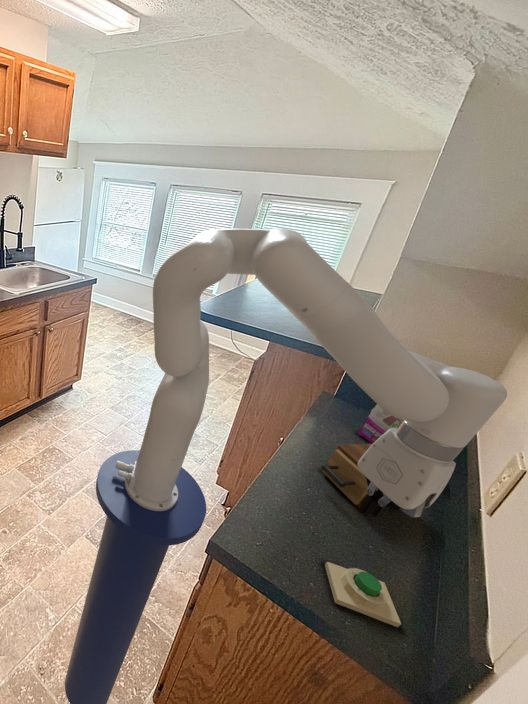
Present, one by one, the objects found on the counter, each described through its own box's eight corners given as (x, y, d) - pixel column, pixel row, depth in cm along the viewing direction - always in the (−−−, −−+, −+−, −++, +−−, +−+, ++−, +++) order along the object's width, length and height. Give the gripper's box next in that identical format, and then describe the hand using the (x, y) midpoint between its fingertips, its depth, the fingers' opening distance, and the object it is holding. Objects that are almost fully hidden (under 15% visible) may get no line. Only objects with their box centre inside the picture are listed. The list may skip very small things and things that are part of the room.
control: (334, 603, 71) (342, 594, 69) (324, 564, 78) (330, 555, 76) (398, 627, 68) (407, 618, 67) (381, 585, 75) (389, 576, 73)
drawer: (339, 505, 91) (355, 482, 87) (307, 472, 100) (320, 450, 96) (397, 501, 94) (415, 479, 90) (361, 469, 102) (375, 447, 99)
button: (357, 591, 71) (362, 586, 70) (351, 573, 74) (355, 568, 73) (380, 599, 70) (385, 594, 69) (373, 581, 73) (377, 576, 72)
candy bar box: (404, 458, 110) (437, 413, 102) (390, 459, 108) (423, 414, 101) (368, 432, 119) (396, 389, 111) (356, 433, 118) (383, 390, 110)
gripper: (368, 410, 67) (320, 482, 76) (458, 477, 54) (388, 554, 63) (402, 410, 68) (352, 481, 77) (498, 475, 55) (425, 551, 64)
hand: (368, 514), depth 70 cm, fingers closed
